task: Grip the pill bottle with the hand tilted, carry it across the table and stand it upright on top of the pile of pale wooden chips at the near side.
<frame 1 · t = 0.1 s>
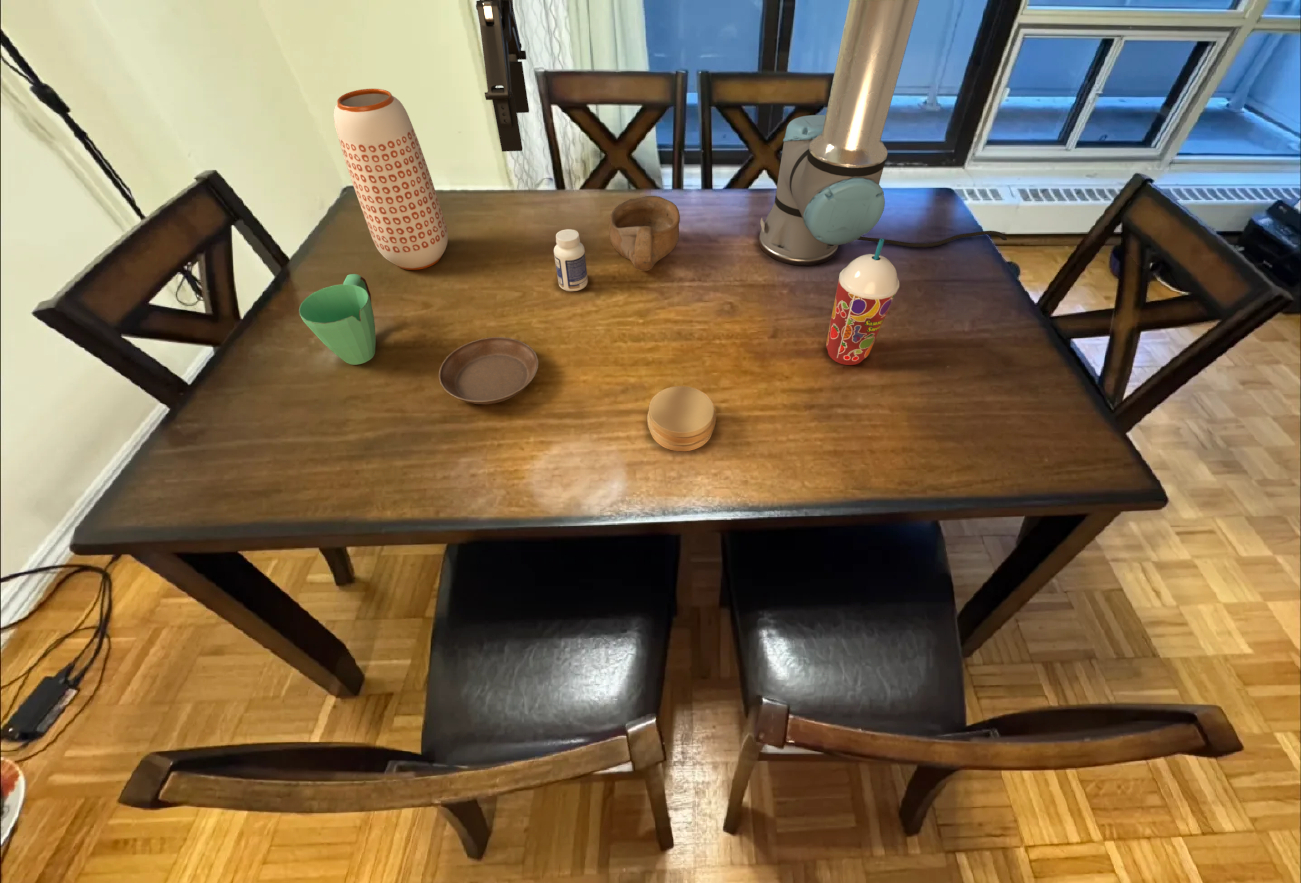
hand: (516, 130, 84), 28 cm above the table, tool pointing down, fingers open, 13 cm apart
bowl: (646, 257, 113), on the table
chip pile: (681, 427, 84), on the table
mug: (364, 346, 96), on the table
saucer: (492, 380, 90), on the table
pill bottle: (573, 284, 107), on the table
smoothie: (845, 354, 94), on the table
patterned vase: (419, 258, 113), on the table
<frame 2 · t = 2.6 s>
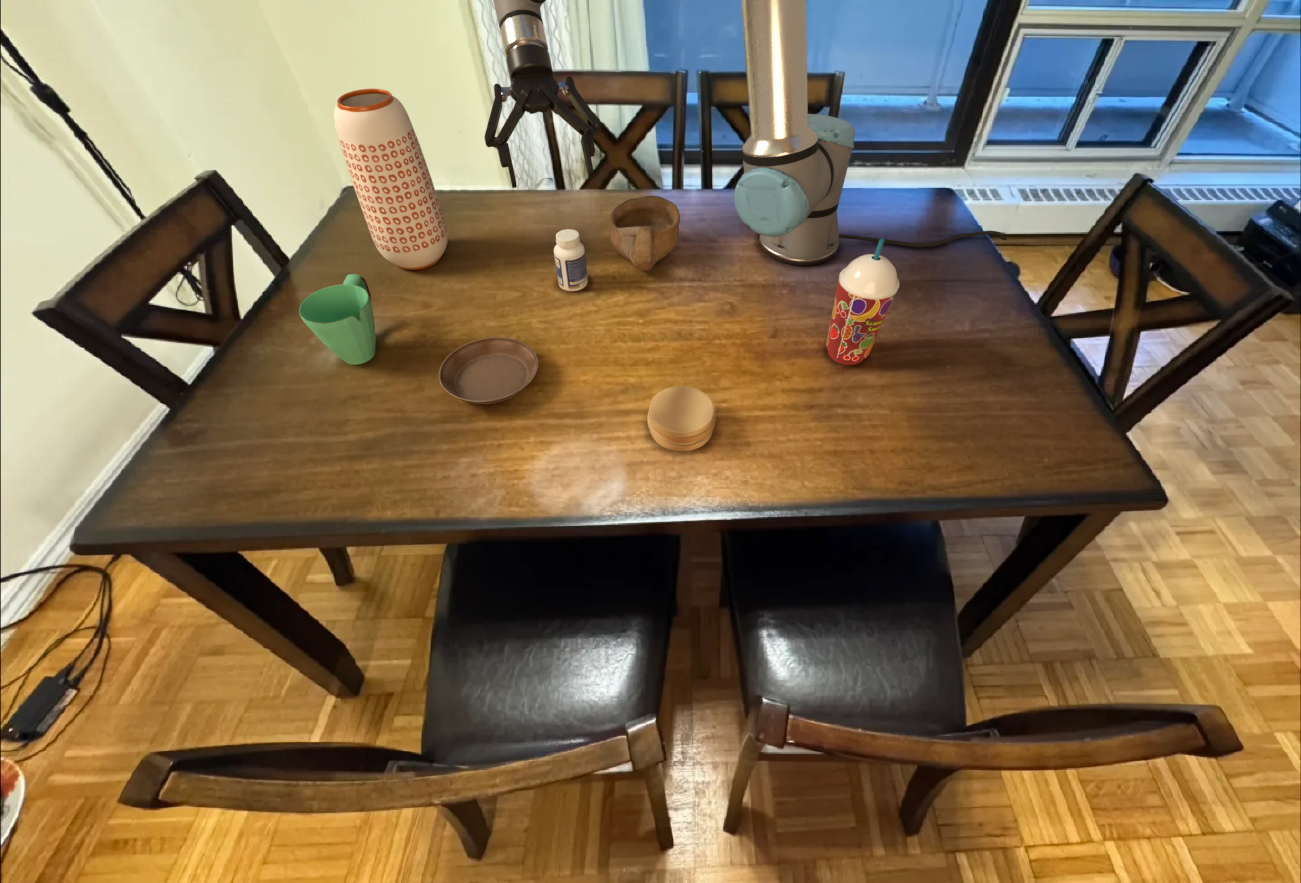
hand: (553, 180, 103), 15 cm above the table, tool tilted 45°, fingers open, 13 cm apart
nothing on the table moved.
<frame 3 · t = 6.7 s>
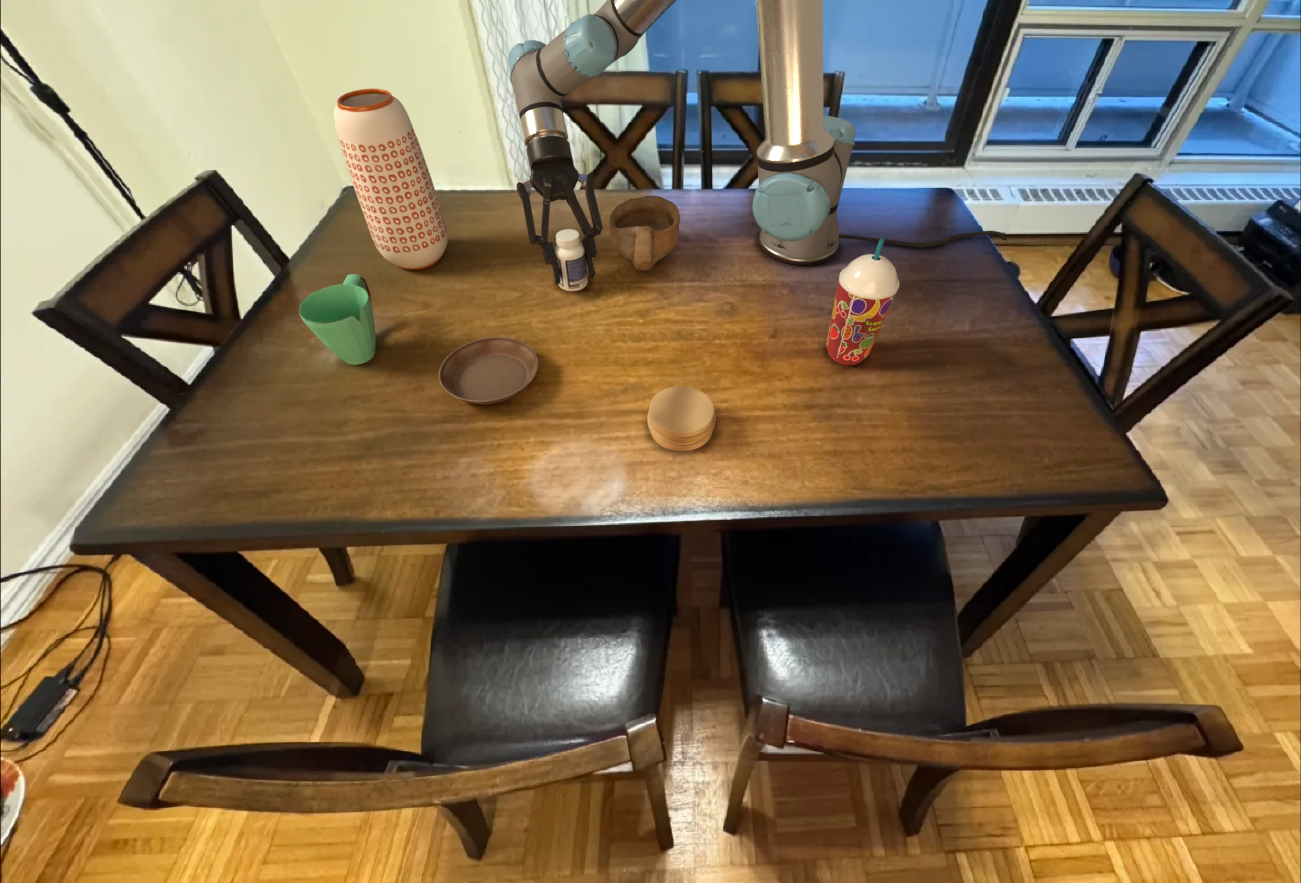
hand: (575, 278, 102), 3 cm above the table, tool tilted 45°, fingers closed on pill bottle, 5 cm apart
pill bottle: (573, 284, 107), on the table, touching gripper
everything else where it was.
when the fingers open (7 cm above the table, at t = 17.3 s): pill bottle stays where it is, resting on chip pile.
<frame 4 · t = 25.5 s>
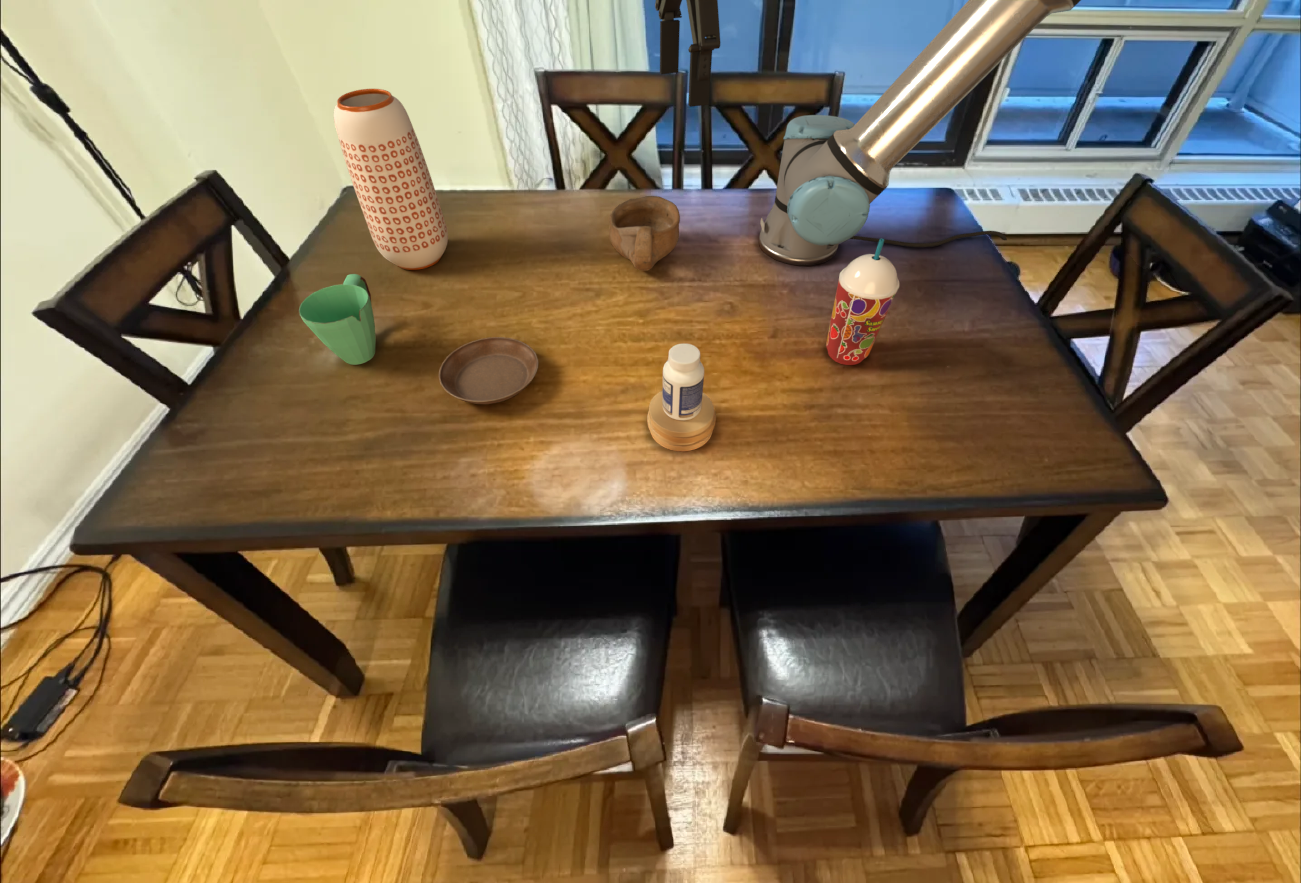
hand: (683, 88, 84), 32 cm above the table, tool pointing down, fingers open, 13 cm apart
pill bottle: (681, 408, 81), point 4 cm above the table, touching chip pile
everything else where it was.
at the end: pill bottle 0.1 cm off-centre on the chip pile, point 3.8 cm above the chip pile's base; pill bottle tilted 0°; the gripper is holding nothing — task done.
